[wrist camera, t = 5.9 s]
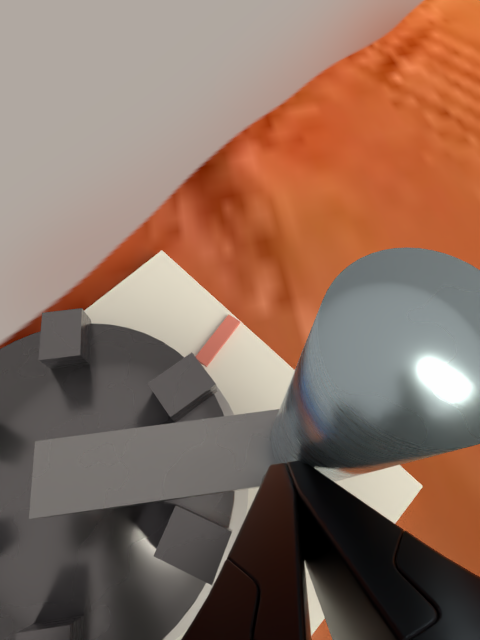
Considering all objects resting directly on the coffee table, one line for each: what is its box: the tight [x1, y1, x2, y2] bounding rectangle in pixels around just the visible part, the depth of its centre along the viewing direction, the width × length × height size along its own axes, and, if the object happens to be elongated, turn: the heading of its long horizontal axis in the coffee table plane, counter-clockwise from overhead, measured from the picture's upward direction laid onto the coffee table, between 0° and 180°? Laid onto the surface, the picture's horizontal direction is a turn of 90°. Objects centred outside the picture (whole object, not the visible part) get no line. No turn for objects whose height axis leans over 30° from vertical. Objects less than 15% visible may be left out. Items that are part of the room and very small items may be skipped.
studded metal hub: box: [0, 248, 480, 640], centre depth 10 cm, size 15×11×12 cm
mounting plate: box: [84, 251, 423, 640], centre depth 17 cm, size 17×18×3 cm
